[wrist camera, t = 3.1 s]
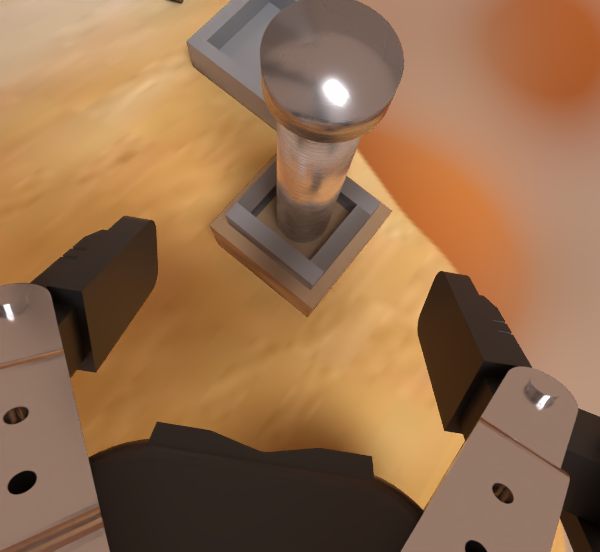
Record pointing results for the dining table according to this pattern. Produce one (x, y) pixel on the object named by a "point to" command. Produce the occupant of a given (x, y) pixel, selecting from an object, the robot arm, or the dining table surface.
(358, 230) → the block
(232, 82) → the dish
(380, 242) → the dining table surface
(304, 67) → the pin
